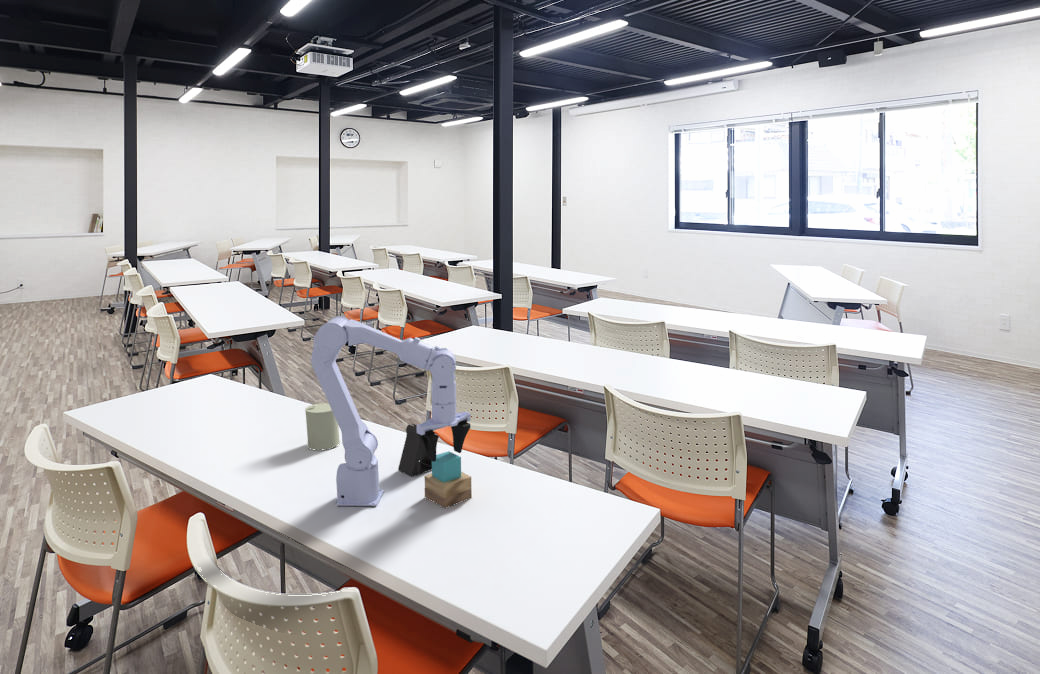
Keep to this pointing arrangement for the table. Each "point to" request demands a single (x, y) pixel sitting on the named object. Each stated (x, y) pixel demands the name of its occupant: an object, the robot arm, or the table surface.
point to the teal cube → (446, 466)
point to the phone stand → (414, 454)
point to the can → (321, 427)
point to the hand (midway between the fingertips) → (445, 455)
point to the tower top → (448, 485)
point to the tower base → (449, 500)
